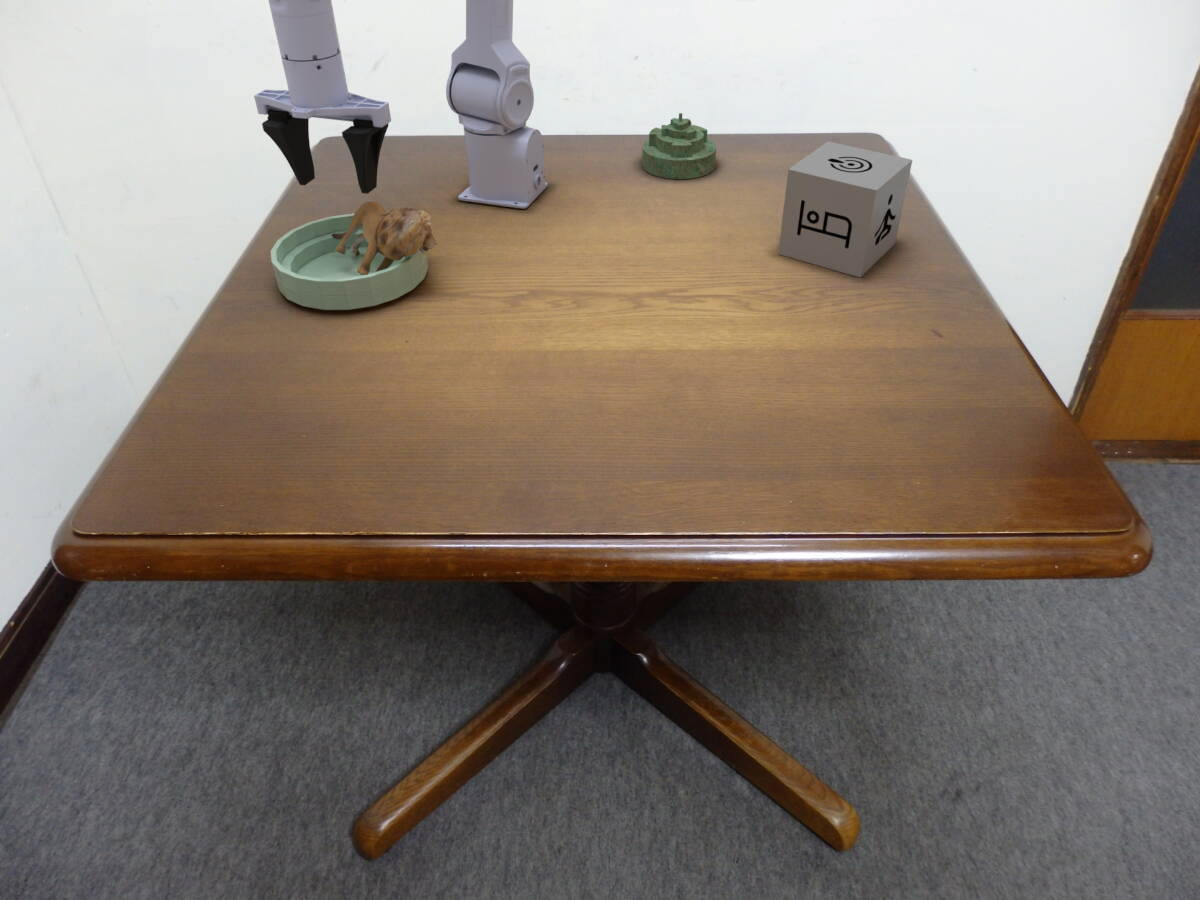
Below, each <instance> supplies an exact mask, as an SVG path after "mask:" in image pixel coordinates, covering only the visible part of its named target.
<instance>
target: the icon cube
mask: <svg viewBox="0 0 1200 900" xmlns="http://www.w3.org/2000/svg"><path fill="white" fill-rule="evenodd" d="M912 164H913V159H911V158H906V157H902V156H896V155H892V154H887V153H883V152H878V151H873V150H870V149H865V148H861V147H856V146H852V145H848V144H847V145H846V144H842V143H838V142H833V141H826V142H825V143H823V144H822V145H821V146H819V147H818V148H816V149H815V150H814V151H812V152H811V153H809V154H808V155H806V156H805V157H803V158H802V159H801V160H800V161H798V162H797V163H794V164H793V165H792V166H791V167H789V168H788V169H787V171H788V172H787V177H786V186H785V193H784V203H783V210H782V219H781V226H780V227H781V228H780V235H779V243H778V251H777V254H778V255H780V256H784V257H786V258H790V259H794V260H798V261H801V262H805V263H808V264H812V265H815V266H818V267H822V268H825V269H829V270H833V271H836V272H839V273H843V274H845V275H849V276H853V277H856V278H862V277H863V276H864V275H865V274H866V273H867V272H868V271H869V270H870V269H871V268H872V267H873V266H874V265H875V264H876V263H877V262H879V260H880V259H881V258H882V257H883V256H884V255H885V254H886V253H888V251H890V250H891V248H893V246H895V244H896V240H897V236H898V232H899V226H900V221H901V217H902V212H903V207H904V203H905V198H906V194H907V189H908V183H909V178H910V175H911V170H912Z"/></svg>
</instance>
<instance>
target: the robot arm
mask: <svg viewBox="0 0 1200 900" xmlns="http://www.w3.org/2000/svg"><path fill="white" fill-rule="evenodd" d="M267 2H268V5H269V9H270V14H271V18H272V22H273V27H274V32H275V36H276V41H277V45H278V49H279V54H280V58H281V62H282V68H283V72H284V75H285V81H286V85H287V89H262V90H261V91H259V92H258V93H256V94H254V95H253V98H254V101H255V105H256V110H257V113H258V115H265V116H266V115H267V120H265V121H263V122H262V123H261V127H262V130H263V132H264V133H265V134H266V135H267V136H268V137H269V138H270V139H271V140H272V141H273V142H274V144H275V145H276V147H277V148H278V149H279V150H280V152H281V153H282V155H283V156H284V158H285V159H286V161H287V163H288V165H289V166H290V168H291V170H292V172H293V174H294V176H295V178H296V180H297V182H298V184H299V185H300V186H306V185H307V184H309V183H311V182H312V181H314V179H315V178H316V175H315V173H316V171H315V166H314V160H313V155H312V150H311V145H310V131H309V123H310V121H309V119H311V118H315V119H322V120H323V119H325V120H333V121H342V122H343V121H344V122H352V125H351V126H349V127H348V128H346V129H344V130H343V131H342V132H341V136H342V138H343V140H344V142H345V144H346V146H347V147H348V150H349V152H350V155H351V158H352V160H353V164H354V167H355V172H356V178H357V183H358V186H359V189H360V192H361V194H367V195H368V194H369V193H371V192H372V191H373V190H375V189H376V188H377V187H378V185H377V184H378V169H379V160H380V154H381V150H382V146H383V144H384V143H383V142H384V140H385V137H386V133H387V131H388V128H389V124H390V123H391V122H392V117H391V110H390V104H389V101H382V100H376V99H373V98H371V97H370V98H369V97H365V96H362V95H359V94H357V93H352V92H350V91H349V88H348V84H347V78H346V73H345V67H344V66H345V65H344V62H343V56H342V50H341V46H340V40H339V34H338V29H337V25H336V18H335V13H334V8H333V2H332V0H268V1H267ZM513 27H514V0H465V40H464V41H463V42H461V44H459V46H457V47H456V48H455V49H454V50H453V52H452V53H451V66H450V71H449V75H448V78H447V80H446V86H445V95H446V96H445V97H446V101H447V104H448V106H449V108H450V110H451V111H452V112H453V113H455V114H456V115H457V116H458V123H459V124H461V125H462V126H463V133H464V134H463V135H464V142H465V143H464V145H465V153H466V163H467V170H468V182H469V186H467V188H466V189H464V190H463V191H462V192H461V193H460V194H459V195H458V196H457V199H458V200H459V201H462V202H471V203H476V204H484V205H490V206H491V205H492V206H499V207H506V208H507V207H508V208H514V209H520V210H521V209H523V210H524V209H527V208H529V206H530V205H531V204H532V203H533V202H534V201H535V200H536V199H537V198H538V196H540V194H541V193H542V192H543V191H545V189H546V188H547V187H548V185H549V184H548V182H547V181H546V168H545V149H544V148H545V147H544V139H543V136H542V133H541V130H539V129H537V128H533V127H529V126H527V121H528V120H529V119H530V116H531V115H532V112H533V108H534V104H535V102H534V101H535V95H534V87H533V83H532V81H531V64H530V62H529V60H528V59H527V58H526V56H525V55H524V54H523V53H522V52H521V50H520V49H519V48H518V47H517V46H516V44H515V43H514V41H513V29H514V28H513Z"/></svg>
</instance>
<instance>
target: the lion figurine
mask: <svg viewBox="0 0 1200 900" xmlns="http://www.w3.org/2000/svg"><path fill="white" fill-rule="evenodd" d="M353 214H354V213H353ZM432 217H433V216H431V215H430V214H429V213H427V212H426V211H424V210H423V209H419V208H418V209H417V208H411V207H410V208H409V207H404V208H399V209H398V208H396V209H395V208H394V209H391V210H390V211H389V212H387V211H386V209H385V207H384V206H383V205H382V204H380V203H379V202H378V201H371V200H370V201H366V202H364V203H362V204H361V205H360V206H359V208H358V209H357V210H356V211H355V214H354V217H353V219H352V222H351V224H350V226H349V229H348V231H346V232H345V233H339V234H332V237H333V238H335V239H342V240H341V242H340V244H339V245H338V246H337V247H336V248H335V250H336V251H337V252H339V253H341V254H345V253H346V250H345V248H346V246H347V244H348V243H349V241H350V239H351V237H352V236H353V235H354V234H355V233H356V232H357V231H358V230H359V229H360V228H361V227H362V226H363V233H362V234H360V235H359V236H358V237H357V238H356V239H355V241H354V242H353V244H352V245H351V247H350V252H351V253H353V254H355V255H357V256H358V255H359V254H360V252H359V250H358V248H359V246H360V245H361V244H362V243H364V242H368V243H369V245H368V248H367V250H366V253H365V256H364V258H363V260H362V263H361V265H360V267H359V268H358V270H357V272H358V273H359V274H361V275H368V274H369V271H370V265H371V262H372V260H373V259H374V257H375V255H376V254H377V253H380V254H381V255H383V256H385V257H384V259H383V261H382V263H381V264H380V266H379V267H378V268H377V270H376V272H377V271H381V270H384V269H387V268H388V267H389V266H390V265H391V264H392V263H393V261H394V260H401V259H402V258H403V257H404V256H411V255H414V254H416V253H417V252H418V250H420V251H421V252H422V253H423V254H425V253H426V254H427V252H428V251H429V250H432V249H433V248H434V247H436V245H438V243H437V240H436V239H435V237H434V235H433V230H432V228H431V225H432V223H431V222H432V220H433V218H432Z"/></svg>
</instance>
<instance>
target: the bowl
mask: <svg viewBox="0 0 1200 900" xmlns="http://www.w3.org/2000/svg"><path fill="white" fill-rule="evenodd" d="M355 213H356V212H355ZM355 213H346V214H338V215H331V216H327V217H324V218H320V219H317V220H313V221H309V222H307V223H304V224H301V225H299V226H298V227H295V228H293V229H291V230H289V231H288V232H287V233H285V234H283V236H281V237H280V238H278V239H277V240H276V242H275V243H274V245H273V247H272V248H271V250H270V262H271V266H272V269H273V274H274V277H275V280H276V281H275V282H276V285H277V288H278V290H279V292H280V293H281V294H282V295H283V296H284V298H286V299H287V300H288V301H290V302H292V303H295V304H297V305H299V306H301V307H304V308H305V307H306V308H312V309H316V310H317V309H318V310H322V311H349V310H350V311H352V310H355V309H356V310H357V309H362V308H363V309H364V308H371V307H375V306H378V305H381V304H385V303H388V302H390V301H393V300H396V299H398V298H400V297H402V296H404V295H405V294H407V293H409V292H411V291H413V290H415V288H416V287H418V285H419V284H420V283H422V281H423V280H424V279H425V278H426V275H427V272H428V270H429V261H428V255H427V252H426V253H425V254H423V253H422V252H421V251H420V250H418V252H417V253H416V254H414V255H411V256H404V257H403V258H402V259H401V260H394V261H393V263H392V264H391V265H390V266H389V267H388V268H387V269H384V270H381V271H377V272H376V270H377V268H378V267H379V266H380V264H381V263H382V261H383V259H384V257H385V256H383V255H381V254H380V253H377V254H376V255H375V257H374V259H373V260H372V262H371V265H370V271H369V274H368V275H361V274H359V273H358V272H357V270H358V268H359V267H360V265H361V263H362V260H363V258H364V256H365V253H366V250H367V248H368V245H369V243H368V242H364V243H362V244H361V245H360V246H359V248H358V250H359V252H360V254H359V255H358V256H357V255H355V254H353V253H351V252H350V247H351V245H352V244H353V242H354V241H355V239H356V238H357V237H358V236H359V235H360V234H362V233H363V226H362V227H361V228H360V229H359V230H358V231H357V232H356V233H355V234H354V235H353V236H352V237H351V239H350V241H349V243H348V244H347V246H346V248H345V250H346V253H345V254H341V253H339V252H337V251H336V250H335V248H336V247H337V246H338V245H339V244H340V242H341V240H342V239H335V238H333V237H332V234H339V233H345V232H346V231H348V229H349V226H350V224H351V222H352V219H353V217H354V214H355Z"/></svg>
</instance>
